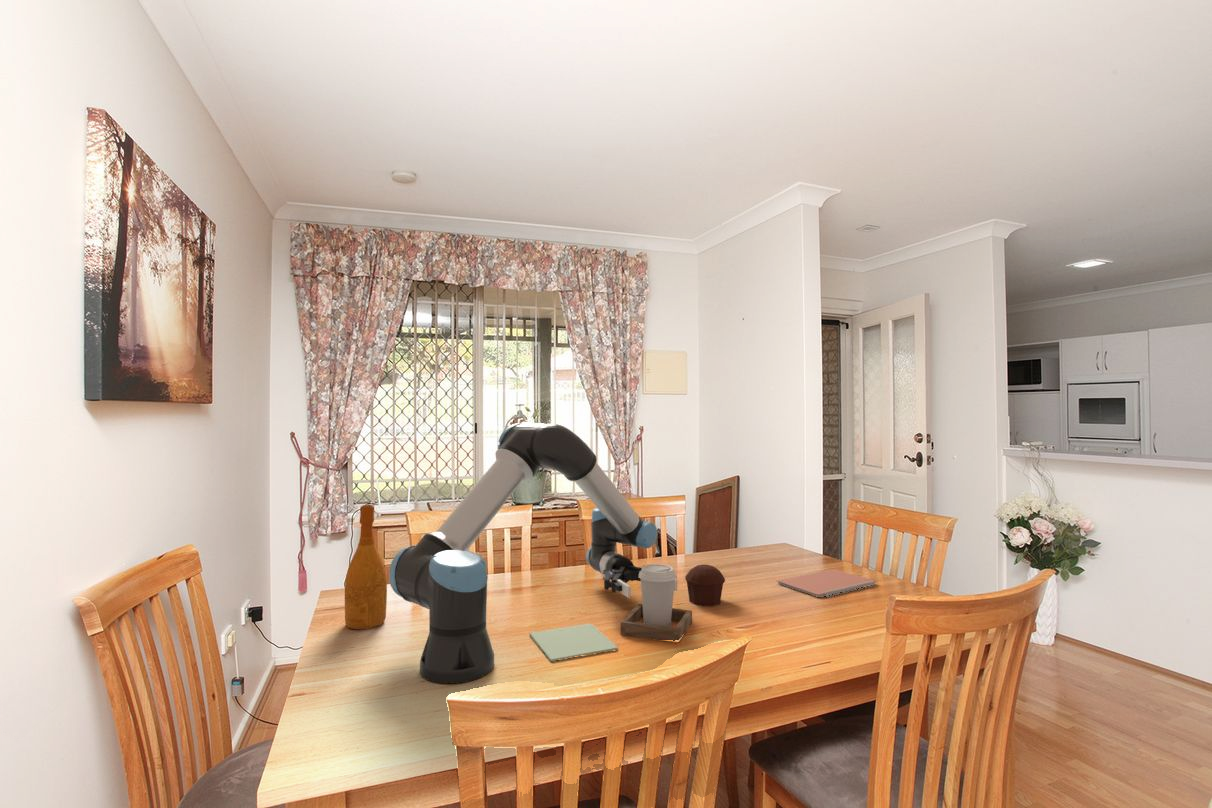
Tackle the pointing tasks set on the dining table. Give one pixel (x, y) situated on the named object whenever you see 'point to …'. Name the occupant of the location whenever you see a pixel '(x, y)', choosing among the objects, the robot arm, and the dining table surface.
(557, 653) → the mat
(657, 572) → the coffee cup
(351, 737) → the dining table surface
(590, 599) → the dining table surface
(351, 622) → the wine bottle
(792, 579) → the notebook
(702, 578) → the muffin
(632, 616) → the square tray
